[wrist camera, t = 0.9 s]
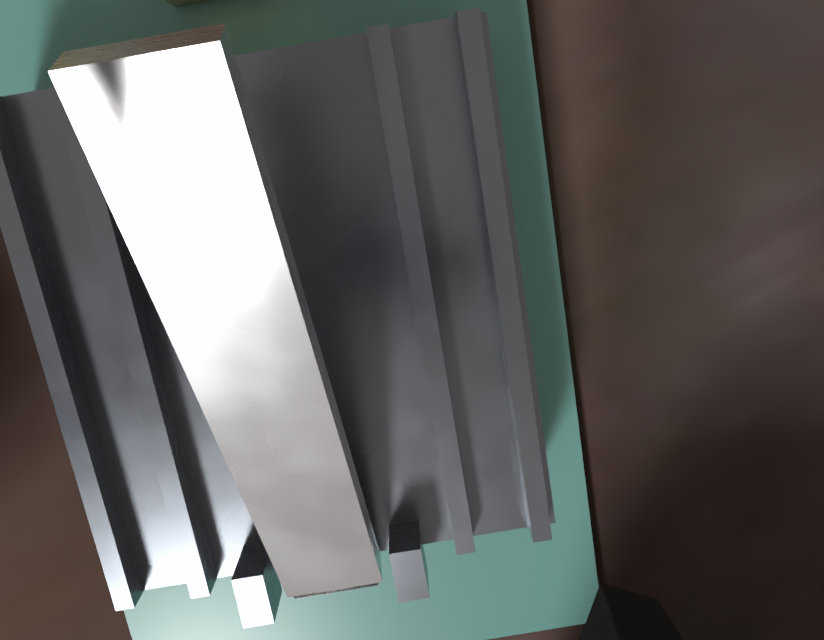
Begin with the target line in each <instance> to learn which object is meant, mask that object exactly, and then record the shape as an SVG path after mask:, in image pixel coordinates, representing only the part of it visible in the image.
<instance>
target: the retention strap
mask: <svg viewBox="0 0 824 640" xmlns="http://www.w3.org/2000/svg"><path fill="white" fill-rule="evenodd" d="M48 73H49V75H50V77H51V79H52V81H53V84H54V86H55V88H56V90H57V92H58V95H59V97H60V99H61V101H62V103H63V106H64V108H65V110H66V112H67V114H68V117H69V119H70V121H71V123H72V125H73V128H74V130H75V132H76V134H77V136H78V139H79V141H80V143H81V145H82V147H83V149H84V152H85V154H86V156H87V158H88V160H89V163H90V165H91V167H92V169H93V171H94V174H95V176H96V178H97V180H98V182H99V185H100V187H101V189H102V191H103V193H104V196H105V198H106V200H107V202H108V204H109V207H110V209H111V211H112V213H113V215H114V218H115V220H116V222H117V224H118V226H119V229H120V231H121V233H122V235H123V237H124V240H125V242H126V244H127V246H128V248H129V251H130V253H131V255H132V257H133V259H134V261H135V264H136V266H137V268H138V270H139V272H140V275H141V277H142V279H143V281H144V283H145V286H146V288H147V290H148V292H149V294H150V297H151V299H152V301H153V303H154V305H155V308H156V310H157V312H158V314H159V316H160V319H161V321H162V323H163V325H164V327H165V330H166V332H167V334H168V336H169V338H170V341H171V343H172V345H173V347H174V349H175V352H176V354H177V356H178V358H179V360H180V363H181V365H182V367H183V369H184V371H185V373H186V376H187V378H188V380H189V382H190V384H191V387H192V389H193V391H194V393H195V395H196V398H197V400H198V402H199V404H200V406H201V409H202V411H203V413H204V415H205V417H206V420H207V422H208V424H209V426H210V428H211V431H212V433H213V435H214V437H215V439H216V442H217V444H218V446H219V448H220V450H221V453H222V455H223V457H224V459H225V461H226V464H227V466H228V468H229V470H230V472H231V475H232V477H233V479H234V481H235V483H236V485H237V488H238V490H239V492H240V494H241V496H242V499H243V501H244V503H245V505H246V507H247V510H248V512H249V514H250V516H251V518H252V521H253V523H254V525H255V527H256V529H257V532H258V534H259V536H260V538H261V540H262V543H263V545H264V547H265V549H266V551H267V554H268V556H269V558H270V560H271V562H272V565H273V567H274V569H275V571H276V573H277V576H278V578H279V580H280V582H281V584H282V587H283V589H284V591H285V593H286V595H287V597H294V599H297V598H304V597H310V596H316V595H322V594H328V593H334V592H340V591H346V590H353V589H359V588H365V587H371V586H377V585H379V583H380V582H383V580H382V565H381V554H380V551H379V547H378V544H377V540H376V537H375V534H374V530H373V527H372V523H371V520H370V516H369V513H368V510H367V506H366V503H365V499H364V496H363V492H362V489H361V486H360V482H359V479H358V475H357V472H356V468H355V465H354V462H353V458H352V455H351V451H350V448H349V444H348V441H347V438H346V434H345V431H344V427H343V424H342V421H341V417H340V414H339V410H338V407H337V403H336V400H335V397H334V393H333V390H332V386H331V383H330V379H329V376H328V373H327V369H326V366H325V362H324V359H323V355H322V352H321V349H320V345H319V342H318V338H317V335H316V331H315V328H314V325H313V321H312V318H311V314H310V311H309V307H308V304H307V301H306V297H305V294H304V290H303V287H302V283H301V280H300V277H299V273H298V270H297V266H296V263H295V260H294V256H293V253H292V249H291V246H290V242H289V239H288V236H287V232H286V229H285V225H284V222H283V218H282V215H281V212H280V208H279V205H278V201H277V198H276V194H275V191H274V188H273V184H272V181H271V177H270V174H269V170H268V167H267V164H266V160H265V157H264V153H263V150H262V146H261V143H260V140H259V136H258V133H257V129H256V126H255V122H254V119H253V116H252V112H251V109H250V105H249V102H248V99H247V95H246V92H245V88H244V85H243V81H242V78H241V75H240V71H239V68H238V64H237V61H236V57H235V54H234V51H233V47H232V44H231V40H230V37H229V33H228V30H227V27H226V23H223V24H218V25H212V26H206V27H201V28H195V29H189V30H184V31H178V32H173V33H167V34H161V35H156V36H150V37H144V38H139V39H133V40H127V41H122V42H116V43H110V44H105V45H99V46H93V47H88V48H82V49H77V50H71V51H65V52H62V54H61V55H60V56H59V58H58V59H57V60H56V61H55V63H54V64H53V65H52V66H51V68H50V69H49V70H48Z"/></svg>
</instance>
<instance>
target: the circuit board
mask: <svg viewBox="0 0 824 640" xmlns="http://www.w3.org/2000/svg"><path fill="white" fill-rule="evenodd" d="M478 7H479V9H480V12H485V11H486V13H487V20H488V27H489V35H490V42H491V50H492V57H493V64H494V72H495V79H496V86H497V94H498V101H499V109H500V116H501V123H502V131H503V138H504V146H505V153H506V160H507V168H508V175H509V182H510V190H511V197H512V205H513V212H514V219H515V227H516V234H517V242H518V249H519V256H520V264H521V271H522V278H523V286H524V293H525V301H526V308H527V315H528V323H529V330H530V338H531V345H532V352H533V360H534V367H535V374H536V382H537V389H538V397H539V404H540V411H541V419H542V426H543V434H544V441H545V448H546V456H547V463H548V470H549V478H550V485H551V493H552V500H553V507H554V515H555V522H556V523H550V526H551V533H552V540H548V541H541V542H535V543H533V541H532V538H531V535H530V532H529V529H528V527H526V528H520V529H514V530H508V531H502V532H496V533H489V534H483V535H477V536H473V538H474V544H475V550H476V552H474V553H468V554H462V555H457V554H456V548H455V543H454V539H453V540H447V541H441V542H435V543H428V544H423V546H424V552H425V557H426V563H427V570H428V583H429V596H430V598H427V599H421V600H414V601H408V602H402V603H398V598H397V593H396V588H395V583H394V578H393V572H392V567H391V562H390V557H389V550H386V551H380V554H381V565H382V580H383V582H380V583H379V585H377V586H371V587H365V588H359V589H353V590H346V591H340V592H334V593H328V594H322V595H316V596H310V597H304V598H297V599H294V597H287V595H286V593H285V591H284V589H283V587H282V584H281V588H282V594H281V598H280V602H279V606H278V610H277V614H276V619H275V623H273V624H267V625H261V626H254V627H248V628H243V625H242V621H241V617H240V613H239V609H238V605H237V601H236V597H235V593H234V589H233V586H232V582H231V579H232V576H227V577H221V578H217V579H216V582H215V584H214V587H213V589H212V592H211V594H210V596H205V597H199V598H193V599H191V597H190V593H189V590H188V586H187V583H184V584H178V585H172V586H166V587H160V588H154V589H148V590H144V592H143V593H142V595H141V597H140V599H139V601H138V603H137V604H136V606H135V608H132V609H126V610H124V613H125V616H126V620H127V623H128V626H129V630H130V633H131V636H132V640H486V639H492V638H499V637H505V636H511V635H517V634H523V633H530V632H536V631H542V630H548V629H554V628H561V627H567V626H573V625H579V624H585V623H586V621H587V618H588V615H589V612H590V610H591V607H592V604H593V602H594V599H595V596H596V593H597V591H598V588H599V586H598V578H597V570H596V562H595V554H594V546H593V538H592V529H591V521H590V513H589V505H588V497H587V489H586V481H585V473H584V464H583V456H582V448H581V440H580V432H579V424H578V416H577V408H576V399H575V391H574V383H573V375H572V367H571V359H570V351H569V342H568V334H567V326H566V318H565V310H564V302H563V294H562V286H561V277H560V269H559V261H558V253H557V245H556V237H555V229H554V221H553V212H552V204H551V196H550V188H549V180H548V172H547V164H546V156H545V147H544V139H543V131H542V123H541V115H540V107H539V99H538V90H537V82H536V74H535V66H534V58H533V50H532V42H531V34H530V25H529V17H528V9H527V1H526V0H216V1H210V2H205V3H199V4H193V5H188V6H182V7H177V8H176V7H174V6H173V5H171V4H169V3H167V2H166V1H164V0H0V96H2V97H3V96H8V95H14V94H20V93H25V92H31V91H37V90H42V89H48V88H52V85H51V83H53V81H52V79H51V77H50V75H49V73H48V70H49V69H50V68H51V66H52V65H53V64H54V63H55V61H56V60H57V59H58V58H59V56H60V55H61V54H62V52H65V51H71V50H77V49H82V48H88V47H93V46H99V45H105V44H110V43H116V42H122V41H127V40H133V39H139V38H144V37H150V36H156V35H161V34H167V33H173V32H178V31H184V30H189V29H195V28H201V27H206V26H212V25H218V24H223V23H226V27H227V30H228V33H229V37H230V40H231V44H232V47H233V51H234V54H235V55H241V54H247V53H252V52H258V51H264V50H269V49H275V48H281V47H286V46H292V45H298V44H303V43H309V42H315V41H320V40H326V39H332V38H337V37H343V36H349V35H354V34H360V33H366V27H371V26H376V25H382V24H389V28H394V27H400V26H405V25H411V24H417V23H422V22H428V21H434V20H439V19H445V18H451V17H454V15H455V13H456V11H461V10H467V9H473V8H478ZM280 583H281V582H280Z"/></svg>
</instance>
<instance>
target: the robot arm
mask: <svg viewBox="0 0 824 640" xmlns="http://www.w3.org/2000/svg"><path fill="white" fill-rule="evenodd" d="M580 640H683V639H682V637H681V636H680V634H679V633H678V631H677V629H676V628H675V626H674V625H673V623H672V621H671V620H670V618H669V617H668V615H667V614H666V612H665V610H664V609H663V607H662V606H661V604H660V603H659V601H658V600H657V599H655V598H652V597H648V596H644V595H640V594H636V593H633V592H629V591H625V590H621V589H617V588H614V587H610V586H606V585H602V584H600V585H599V588H598V591H597V593H596V596H595V599H594V602H593V604H592V607H591V610H590V612H589V615H588V618H587V621H586V623H585V626H584V629H583V632H582V634H581V637H580Z"/></svg>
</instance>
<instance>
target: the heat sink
mask: <svg viewBox="0 0 824 640" xmlns="http://www.w3.org/2000/svg"><path fill="white" fill-rule="evenodd" d="M164 1H166V2H167V3H169V4H171V5H173V6H174V7H176V8H177V7H182V6H188V5H193V4H199V3H205V2H210V1H216V0H164ZM235 57H236V61H237V64H238V68H239V71H240V75H241V78H242V81H243V85H244V88H245V92H246V95H247V99H248V102H249V105H250V109H251V112H252V116H253V119H254V122H255V126H256V129H257V133H258V136H259V140H260V143H261V146H262V150H263V153H264V157H265V160H266V164H267V167H268V170H269V174H270V177H271V181H272V184H273V188H274V191H275V194H276V198H277V201H278V205H279V208H280V212H281V215H282V218H283V222H284V225H285V229H286V232H287V236H288V239H289V242H290V246H291V249H292V253H293V256H294V260H295V263H296V266H297V270H298V273H299V277H300V280H301V283H302V287H303V290H304V294H305V297H306V301H307V304H308V307H309V311H310V314H311V318H312V321H313V325H314V328H315V331H316V335H317V338H318V342H319V345H320V349H321V352H322V355H323V359H324V362H325V366H326V369H327V373H328V376H329V379H330V383H331V386H332V390H333V393H334V397H335V400H336V403H337V407H338V410H339V414H340V417H341V421H342V424H343V427H344V431H345V434H346V438H347V441H348V444H349V448H350V451H351V455H352V458H353V462H354V465H355V468H356V472H357V475H358V479H359V482H360V486H361V489H362V492H363V496H364V499H365V503H366V506H367V510H368V513H369V516H370V520H371V523H372V527H373V530H374V534H375V537H376V540H377V544H378V547H379V551H386V550H389V557H390V562H391V567H392V572H393V578H394V583H395V588H396V593H397V598H398V603H402V602H408V601H414V600H421V599H427V598H430V596H429V583H428V570H427V563H426V557H425V552H424V546H423V544H428V543H435V542H441V541H447V540H453V539H454V543H455V548H456V554H457V555H462V554H468V553H474V552H476V550H475V544H474V538H473V536H477V535H483V534H489V533H496V532H502V531H508V530H514V529H520V528H526V527H528V529H529V532H530V535H531V538H532V541H533V543H535V542H541V541H548V540H552V533H551V526H550V523H556V522H555V515H554V507H553V500H552V493H551V485H550V478H549V470H548V463H547V456H546V448H545V441H544V434H543V426H542V419H541V411H540V404H539V397H538V389H537V382H536V374H535V367H534V360H533V352H532V345H531V338H530V330H529V323H528V315H527V308H526V301H525V293H524V286H523V278H522V271H521V264H520V256H519V249H518V242H517V234H516V227H515V219H514V212H513V205H512V197H511V190H510V182H509V175H508V168H507V160H506V153H505V146H504V138H503V131H502V123H501V116H500V109H499V101H498V94H497V86H496V79H495V72H494V64H493V57H492V50H491V42H490V35H489V27H488V20H487V13H486V11H485V12H480V9H479V7H478V8H473V9H467V10H461V11H456V13H455V15H454V17H451V18H445V19H439V20H434V21H428V22H422V23H417V24H411V25H405V26H400V27H394V28H389V24H382V25H376V26H371V27H366V33H360V34H354V35H349V36H343V37H337V38H332V39H326V40H320V41H315V42H309V43H303V44H298V45H292V46H286V47H281V48H275V49H269V50H264V51H258V52H252V53H247V54H241V55H235ZM51 85H52V88H48V89H42V90H37V91H31V92H25V93H20V94H14V95H8V96H3V97H2V96H0V227H1V231H2V234H3V237H4V241H5V244H6V247H7V251H8V254H9V257H10V261H11V264H12V267H13V271H14V274H15V277H16V281H17V284H18V287H19V291H20V294H21V297H22V301H23V304H24V307H25V311H26V314H27V317H28V321H29V324H30V327H31V331H32V334H33V337H34V341H35V344H36V347H37V351H38V354H39V357H40V361H41V364H42V367H43V371H44V374H45V377H46V381H47V384H48V387H49V391H50V394H51V397H52V401H53V404H54V407H55V411H56V414H57V417H58V421H59V424H60V427H61V431H62V434H63V437H64V441H65V444H66V447H67V451H68V454H69V457H70V461H71V464H72V467H73V471H74V474H75V477H76V481H77V484H78V487H79V491H80V494H81V497H82V501H83V504H84V507H85V511H86V514H87V517H88V521H89V524H90V527H91V531H92V534H93V537H94V541H95V544H96V547H97V551H98V554H99V557H100V561H101V564H102V567H103V571H104V574H105V577H106V580H107V584H108V587H109V590H110V594H111V597H112V600H113V604H114V607H115V610H116V611H119V610H126V609H132V608H135V606H136V604H137V603H138V601H139V599H140V597H141V595H142V593H143V592H144V590H148V589H154V588H160V587H166V586H172V585H178V584H184V583H187V586H188V590H189V593H190V597H191V599H193V598H199V597H205V596H210V594H211V592H212V589H213V587H214V584H215V582H216V579H217V578H221V577H227V576H232V579H231V582H232V586H233V589H234V593H235V597H236V601H237V605H238V609H239V613H240V617H241V621H242V625H243V628H248V627H254V626H261V625H267V624H273V623H275V619H276V614H277V610H278V606H279V602H280V598H281V594H282V588H281V583H280V580H279V578H278V576H277V573H276V571H275V569H274V567H273V565H272V562H271V560H270V558H269V556H268V554H267V551H266V549H265V547H264V545H263V543H262V540H261V538H260V536H259V534H258V532H257V529H256V527H255V525H254V523H253V521H252V518H251V516H250V514H249V512H248V510H247V507H246V505H245V503H244V501H243V499H242V496H241V494H240V492H239V490H238V488H237V485H236V483H235V481H234V479H233V477H232V475H231V472H230V470H229V468H228V466H227V464H226V461H225V459H224V457H223V455H222V453H221V450H220V448H219V446H218V444H217V442H216V439H215V437H214V435H213V433H212V431H211V428H210V426H209V424H208V422H207V420H206V417H205V415H204V413H203V411H202V409H201V406H200V404H199V402H198V400H197V398H196V395H195V393H194V391H193V389H192V387H191V384H190V382H189V380H188V378H187V376H186V373H185V371H184V369H183V367H182V365H181V363H180V360H179V358H178V356H177V354H176V352H175V349H174V347H173V345H172V343H171V341H170V338H169V336H168V334H167V332H166V330H165V327H164V325H163V323H162V321H161V319H160V316H159V314H158V312H157V310H156V308H155V305H154V303H153V301H152V299H151V297H150V294H149V292H148V290H147V288H146V286H145V283H144V281H143V279H142V277H141V275H140V272H139V270H138V268H137V266H136V264H135V261H134V259H133V257H132V255H131V253H130V251H129V248H128V246H127V244H126V242H125V240H124V237H123V235H122V233H121V231H120V229H119V226H118V224H117V222H116V220H115V218H114V215H113V213H112V211H111V209H110V207H109V204H108V202H107V200H106V198H105V196H104V193H103V191H102V189H101V187H100V185H99V182H98V180H97V178H96V176H95V174H94V171H93V169H92V167H91V165H90V163H89V160H88V158H87V156H86V154H85V152H84V149H83V147H82V145H81V143H80V141H79V139H78V136H77V134H76V132H75V130H74V128H73V125H72V123H71V121H70V119H69V117H68V114H67V112H66V110H65V108H64V106H63V103H62V101H61V99H60V97H59V95H58V92H57V90H56V88H55V86H54V84H53V83H51Z"/></svg>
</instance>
